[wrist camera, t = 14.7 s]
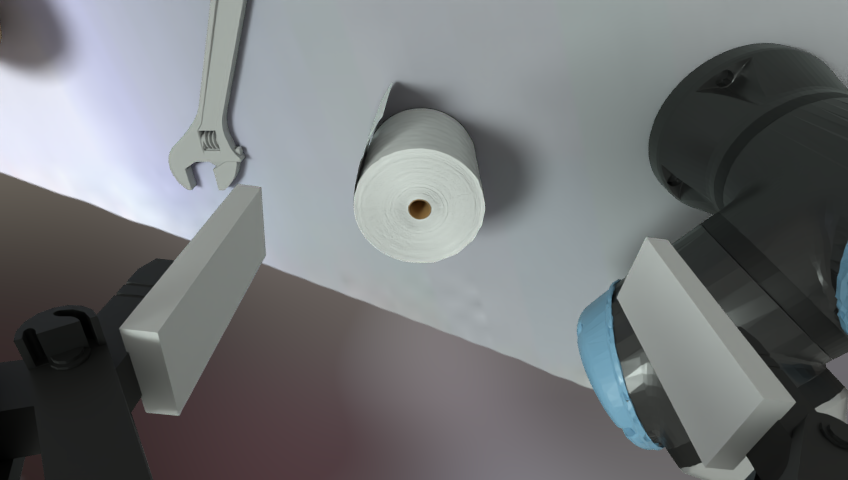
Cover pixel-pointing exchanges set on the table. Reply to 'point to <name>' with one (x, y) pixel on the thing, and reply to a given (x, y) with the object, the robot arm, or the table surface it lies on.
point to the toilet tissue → (419, 186)
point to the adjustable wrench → (213, 102)
